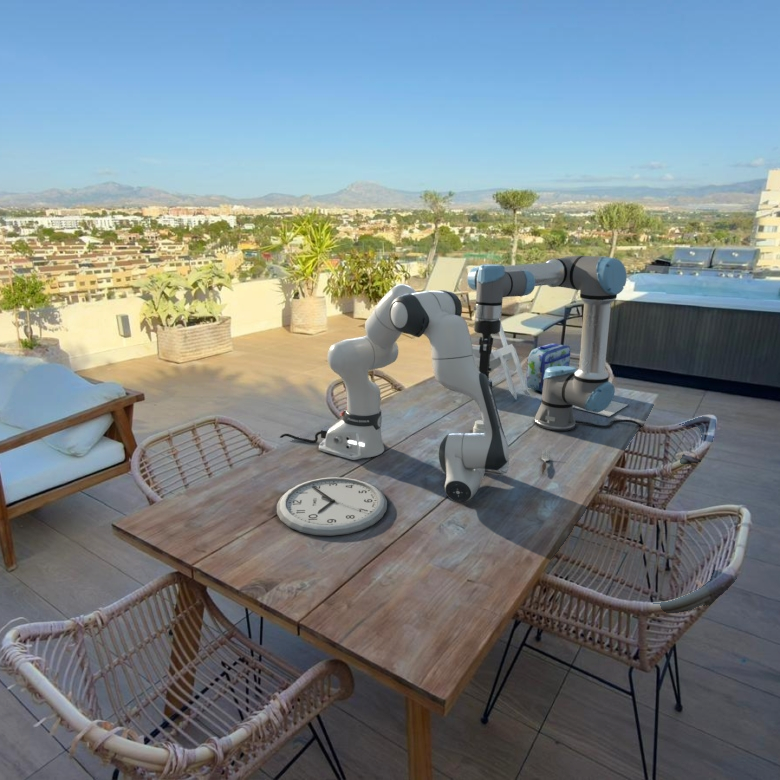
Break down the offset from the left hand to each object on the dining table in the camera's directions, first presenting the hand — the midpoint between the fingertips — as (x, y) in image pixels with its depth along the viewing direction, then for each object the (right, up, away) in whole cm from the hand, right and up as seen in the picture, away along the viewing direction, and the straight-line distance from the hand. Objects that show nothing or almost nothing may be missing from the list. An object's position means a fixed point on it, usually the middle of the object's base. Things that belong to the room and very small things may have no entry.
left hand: (479, 450), depth 165 cm
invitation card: (+63, +12, +61) cm, 89 cm away
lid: (0, +22, -6) cm, 22 cm away
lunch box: (+47, +20, +87) cm, 101 cm away
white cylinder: (0, -6, +1) cm, 6 cm away
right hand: (0, +18, -5) cm, 18 cm away
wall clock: (-44, -13, -22) cm, 51 cm away
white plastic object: (+13, +18, +78) cm, 81 cm away
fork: (+22, -5, +4) cm, 23 cm away
